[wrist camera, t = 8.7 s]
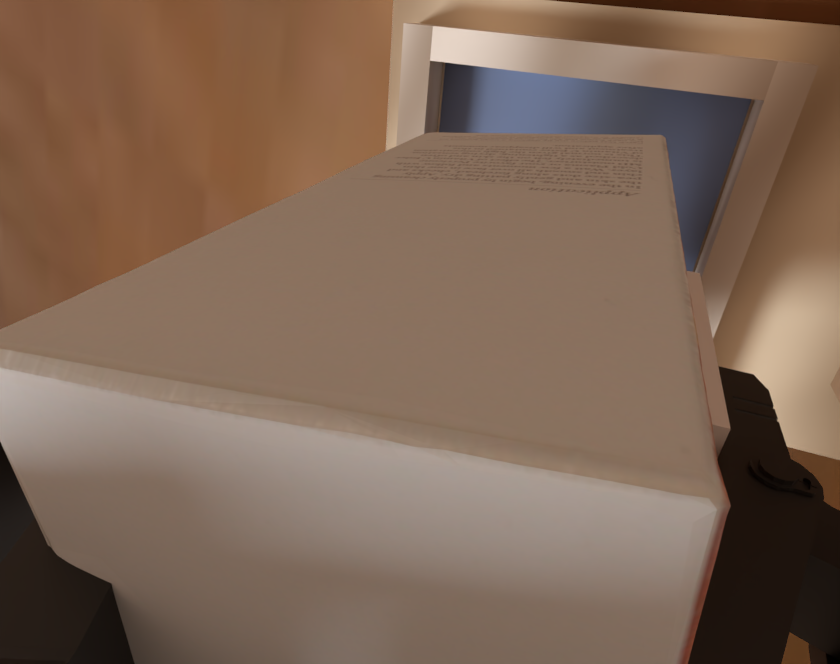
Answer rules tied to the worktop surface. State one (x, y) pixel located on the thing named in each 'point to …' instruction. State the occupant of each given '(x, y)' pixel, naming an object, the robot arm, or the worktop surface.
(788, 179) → the board
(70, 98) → the worktop surface
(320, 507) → the small box
